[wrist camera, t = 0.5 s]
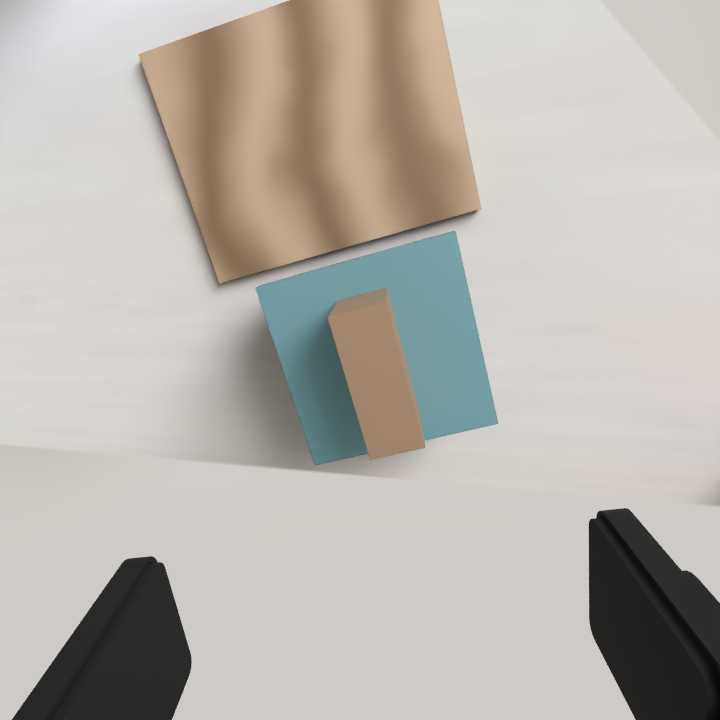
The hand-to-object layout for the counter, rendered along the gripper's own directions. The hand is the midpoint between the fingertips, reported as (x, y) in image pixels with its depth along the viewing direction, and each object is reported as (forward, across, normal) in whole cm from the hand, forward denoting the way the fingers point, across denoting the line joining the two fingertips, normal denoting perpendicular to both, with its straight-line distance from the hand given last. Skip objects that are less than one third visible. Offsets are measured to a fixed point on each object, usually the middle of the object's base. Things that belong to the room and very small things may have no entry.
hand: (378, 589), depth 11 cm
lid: (+23, 0, +1) cm, 23 cm away
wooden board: (+29, +2, -13) cm, 32 cm away
